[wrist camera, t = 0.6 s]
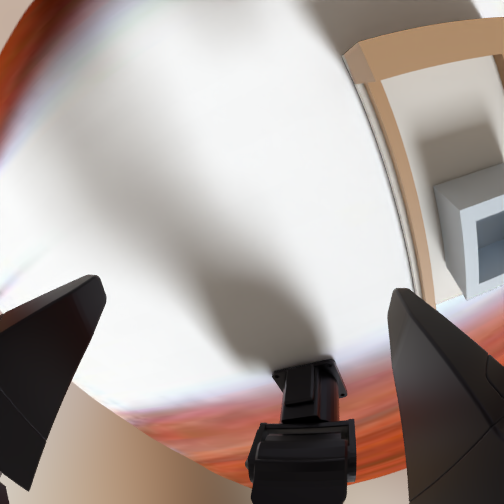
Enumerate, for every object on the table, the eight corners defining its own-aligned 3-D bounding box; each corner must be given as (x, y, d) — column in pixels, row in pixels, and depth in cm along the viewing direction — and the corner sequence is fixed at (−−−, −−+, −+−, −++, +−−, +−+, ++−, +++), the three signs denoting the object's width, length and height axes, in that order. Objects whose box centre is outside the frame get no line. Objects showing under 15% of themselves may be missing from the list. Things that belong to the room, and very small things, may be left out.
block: (511, 240, 18) (538, 268, 14) (446, 266, 20) (466, 300, 16) (505, 161, 15) (539, 180, 12) (433, 186, 17) (459, 210, 14)
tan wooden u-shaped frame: (525, 259, 19) (557, 298, 14) (416, 302, 23) (435, 353, 18) (486, 25, 12) (534, 16, 6) (341, 56, 16) (357, 41, 10)
